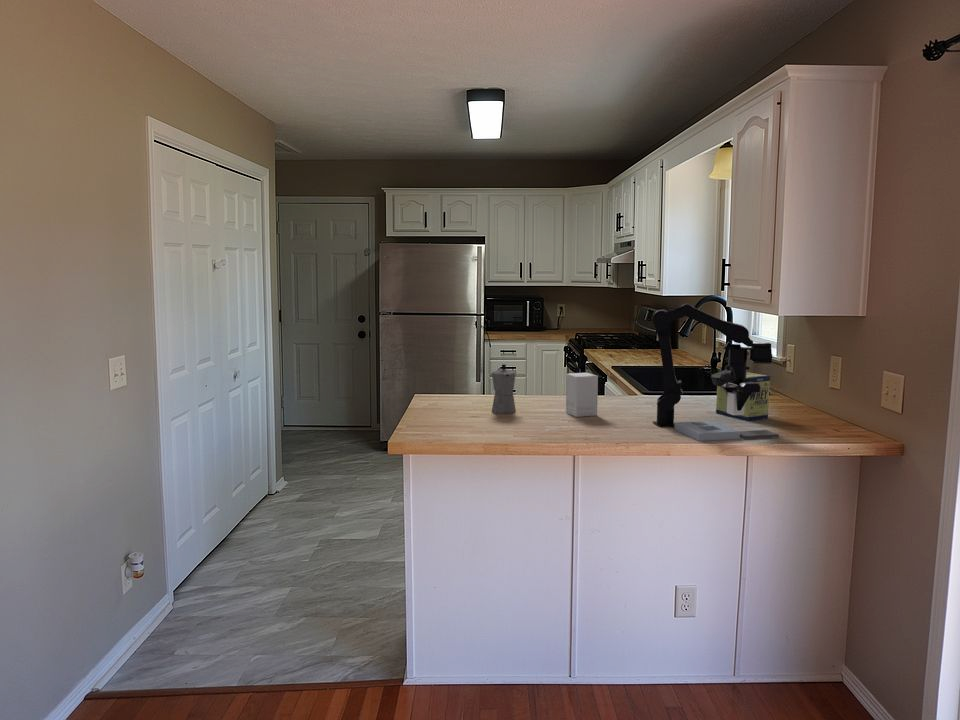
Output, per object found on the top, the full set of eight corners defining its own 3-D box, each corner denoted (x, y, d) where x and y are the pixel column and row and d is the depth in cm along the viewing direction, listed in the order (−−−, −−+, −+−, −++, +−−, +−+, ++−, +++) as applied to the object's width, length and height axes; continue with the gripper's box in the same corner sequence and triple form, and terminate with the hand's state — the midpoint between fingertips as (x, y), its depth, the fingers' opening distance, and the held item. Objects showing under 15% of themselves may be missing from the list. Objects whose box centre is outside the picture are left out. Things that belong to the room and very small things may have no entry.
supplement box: (598, 415, 252) (598, 375, 251) (575, 417, 250) (576, 376, 248) (586, 411, 261) (587, 372, 259) (565, 412, 258) (565, 373, 256)
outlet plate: (674, 429, 230) (674, 422, 230) (712, 427, 233) (713, 420, 233) (698, 441, 215) (699, 433, 215) (739, 438, 218) (739, 430, 217)
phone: (733, 434, 223) (733, 431, 223) (766, 432, 225) (766, 429, 225) (744, 439, 217) (744, 436, 216) (778, 437, 219) (779, 434, 219)
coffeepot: (520, 414, 255) (520, 366, 253) (495, 415, 253) (495, 367, 251) (510, 406, 270) (510, 361, 268) (486, 407, 268) (486, 361, 266)
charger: (726, 412, 232) (727, 392, 231) (737, 412, 233) (738, 391, 232) (733, 415, 228) (734, 394, 227) (744, 414, 229) (745, 394, 228)
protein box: (747, 421, 242) (749, 377, 240) (715, 413, 256) (716, 371, 254) (769, 418, 247) (771, 375, 245) (736, 410, 261) (737, 370, 259)
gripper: (700, 360, 236) (699, 404, 238) (730, 367, 218) (728, 416, 220) (730, 359, 238) (728, 403, 240) (762, 366, 220) (760, 414, 222)
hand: (735, 409), depth 231 cm, fingers closed on charger, 4 cm apart
